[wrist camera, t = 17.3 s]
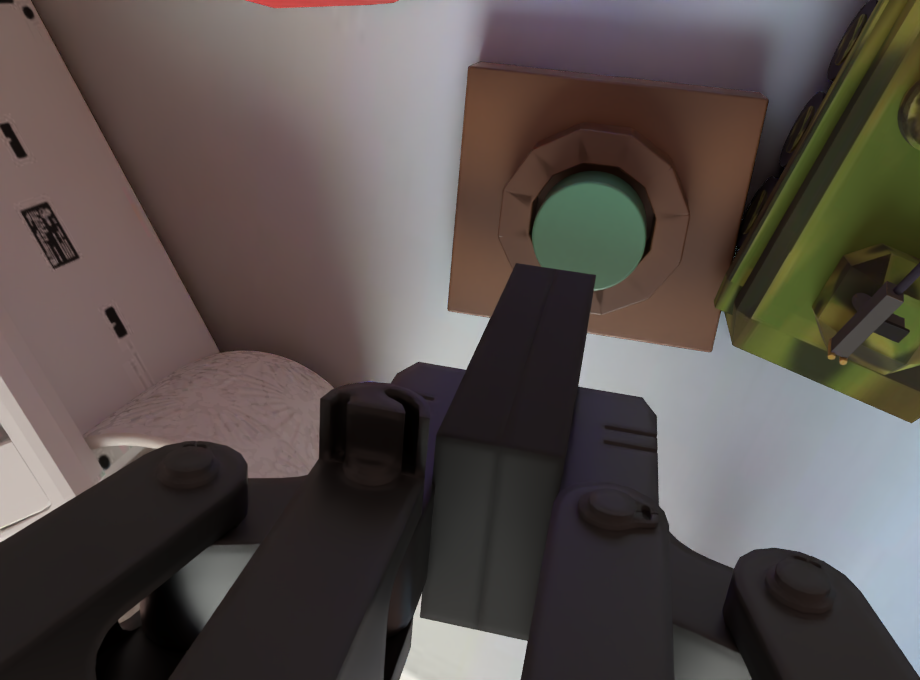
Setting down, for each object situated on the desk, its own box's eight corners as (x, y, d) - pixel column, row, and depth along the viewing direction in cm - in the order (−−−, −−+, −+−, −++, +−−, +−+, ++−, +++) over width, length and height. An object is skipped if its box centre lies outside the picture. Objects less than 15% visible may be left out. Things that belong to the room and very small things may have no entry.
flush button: (545, 163, 31) (538, 174, 29) (655, 177, 30) (655, 189, 28) (532, 266, 32) (525, 283, 30) (636, 281, 32) (635, 299, 30)
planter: (427, 524, 42) (359, 688, 32) (219, 558, 46) (101, 714, 36) (341, 298, 38) (234, 404, 28) (122, 355, 42) (-41, 466, 32)
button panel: (478, 61, 33) (458, 69, 30) (761, 92, 32) (776, 104, 28) (457, 294, 37) (436, 327, 34) (708, 333, 36) (714, 372, 32)
